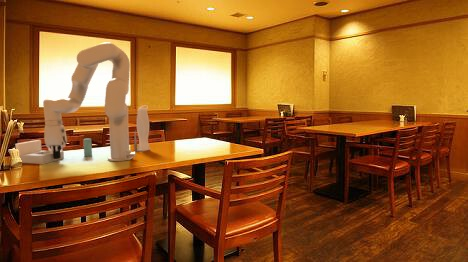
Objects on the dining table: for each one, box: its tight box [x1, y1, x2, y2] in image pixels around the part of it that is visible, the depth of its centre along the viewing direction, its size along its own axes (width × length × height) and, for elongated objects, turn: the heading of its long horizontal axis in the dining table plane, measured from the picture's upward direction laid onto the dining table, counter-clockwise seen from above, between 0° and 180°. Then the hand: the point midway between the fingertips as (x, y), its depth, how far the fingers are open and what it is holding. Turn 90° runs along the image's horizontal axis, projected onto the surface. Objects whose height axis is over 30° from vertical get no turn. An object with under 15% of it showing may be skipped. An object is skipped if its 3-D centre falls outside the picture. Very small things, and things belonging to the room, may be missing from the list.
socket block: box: [20, 149, 65, 165], centre depth 167 cm, size 14×14×4 cm
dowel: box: [83, 138, 93, 158], centre depth 178 cm, size 4×4×10 cm
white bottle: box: [133, 104, 151, 153], centre depth 196 cm, size 8×8×28 cm
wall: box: [14, 139, 42, 156], centre depth 169 cm, size 2×14×10 cm, turn 168°
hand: (57, 158), depth 165 cm, fingers closed
